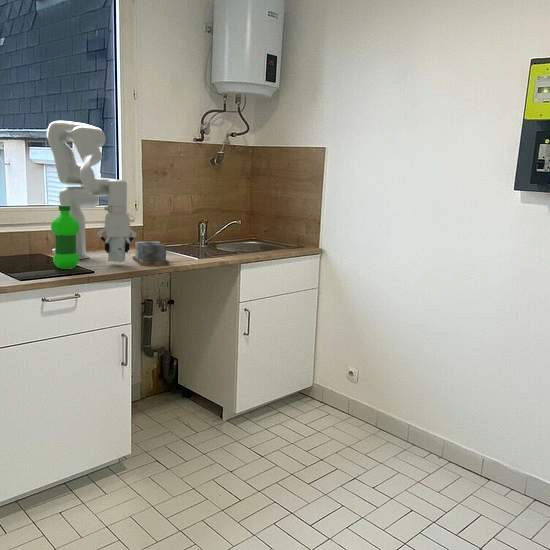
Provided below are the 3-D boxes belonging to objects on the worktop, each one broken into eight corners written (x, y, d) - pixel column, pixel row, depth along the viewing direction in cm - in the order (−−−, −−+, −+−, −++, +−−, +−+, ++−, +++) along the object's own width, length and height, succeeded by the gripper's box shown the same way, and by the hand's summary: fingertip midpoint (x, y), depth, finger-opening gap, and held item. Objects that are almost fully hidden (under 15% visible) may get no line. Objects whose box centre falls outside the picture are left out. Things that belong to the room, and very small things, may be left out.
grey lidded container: (141, 265, 236) (140, 245, 235) (132, 259, 252) (132, 240, 251) (168, 264, 241) (168, 245, 240) (159, 258, 257) (159, 240, 256)
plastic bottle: (47, 270, 217) (45, 205, 213) (61, 266, 227) (59, 204, 223) (71, 271, 216) (69, 206, 212) (84, 267, 226) (83, 205, 222)
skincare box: (107, 261, 232) (107, 232, 230) (112, 259, 237) (112, 231, 235) (121, 262, 232) (121, 233, 229) (126, 260, 236) (126, 232, 234)
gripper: (96, 210, 223) (96, 253, 227) (140, 211, 231) (139, 253, 234) (94, 208, 230) (94, 251, 233) (136, 209, 237) (136, 250, 241)
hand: (117, 252), depth 233 cm, fingers closed on skincare box, 7 cm apart
